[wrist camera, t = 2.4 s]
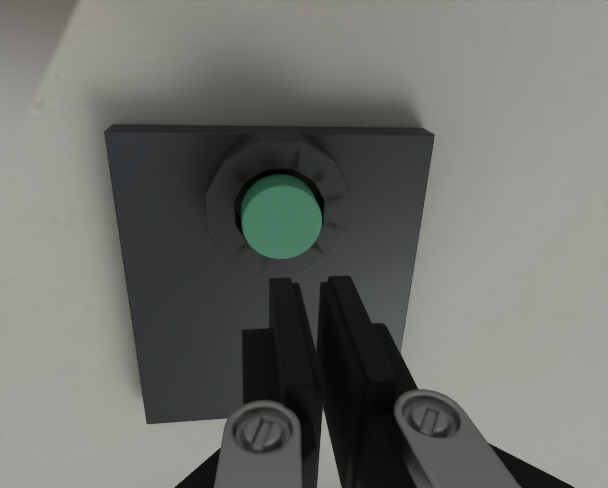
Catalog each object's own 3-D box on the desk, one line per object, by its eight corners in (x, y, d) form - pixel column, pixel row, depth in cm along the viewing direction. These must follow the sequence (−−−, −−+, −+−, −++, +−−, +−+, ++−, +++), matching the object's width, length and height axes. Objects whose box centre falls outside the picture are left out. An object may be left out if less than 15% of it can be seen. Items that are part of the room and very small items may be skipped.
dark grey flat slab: (112, 123, 20) (92, 138, 17) (424, 126, 22) (450, 141, 19) (150, 405, 27) (141, 448, 24) (385, 389, 28) (401, 427, 26)
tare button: (240, 173, 19) (240, 185, 17) (317, 173, 19) (324, 184, 18) (242, 244, 20) (242, 260, 19) (314, 242, 21) (320, 258, 19)
